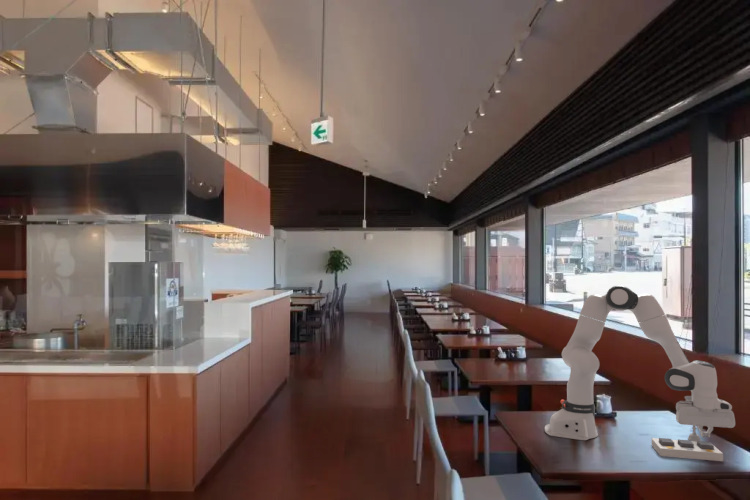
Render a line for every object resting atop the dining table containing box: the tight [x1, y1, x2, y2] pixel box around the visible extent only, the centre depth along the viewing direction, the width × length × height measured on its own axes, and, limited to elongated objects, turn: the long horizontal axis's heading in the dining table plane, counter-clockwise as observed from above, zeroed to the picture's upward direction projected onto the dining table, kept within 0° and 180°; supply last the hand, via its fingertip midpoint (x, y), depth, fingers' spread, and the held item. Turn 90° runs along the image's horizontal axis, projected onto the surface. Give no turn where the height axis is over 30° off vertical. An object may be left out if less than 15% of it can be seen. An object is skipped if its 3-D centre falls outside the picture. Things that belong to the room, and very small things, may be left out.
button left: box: [658, 437, 674, 446], centre depth 204 cm, size 4×4×2 cm
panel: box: [651, 437, 724, 462], centre depth 202 cm, size 22×12×3 cm, turn 76°
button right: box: [697, 440, 715, 450], centre depth 200 cm, size 4×4×2 cm
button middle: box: [677, 438, 694, 448], centre depth 202 cm, size 4×4×2 cm
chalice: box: [684, 395, 702, 442], centre depth 217 cm, size 7×7×18 cm
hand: (705, 436), depth 200 cm, fingers closed
